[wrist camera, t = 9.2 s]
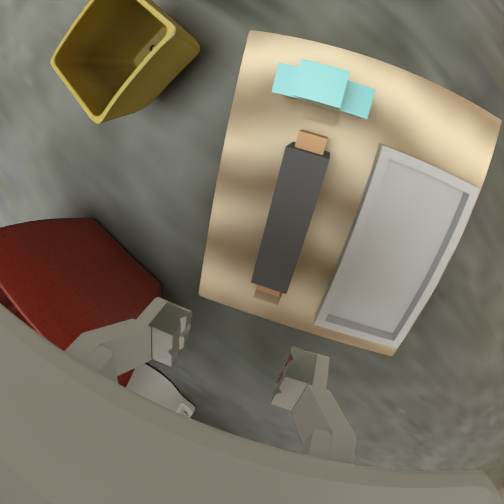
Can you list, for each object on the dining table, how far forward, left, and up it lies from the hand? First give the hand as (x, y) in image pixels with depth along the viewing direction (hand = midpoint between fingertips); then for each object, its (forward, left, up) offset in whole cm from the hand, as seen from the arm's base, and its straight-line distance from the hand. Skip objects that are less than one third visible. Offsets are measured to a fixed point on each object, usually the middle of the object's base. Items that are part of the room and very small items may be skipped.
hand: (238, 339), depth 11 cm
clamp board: (+1, -4, -17) cm, 18 cm away
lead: (0, 0, -16) cm, 16 cm away
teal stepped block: (+10, 0, -16) cm, 18 cm away
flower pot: (+11, +15, -17) cm, 25 cm away
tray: (-1, -9, -16) cm, 18 cm away
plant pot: (-16, +20, -17) cm, 31 cm away
